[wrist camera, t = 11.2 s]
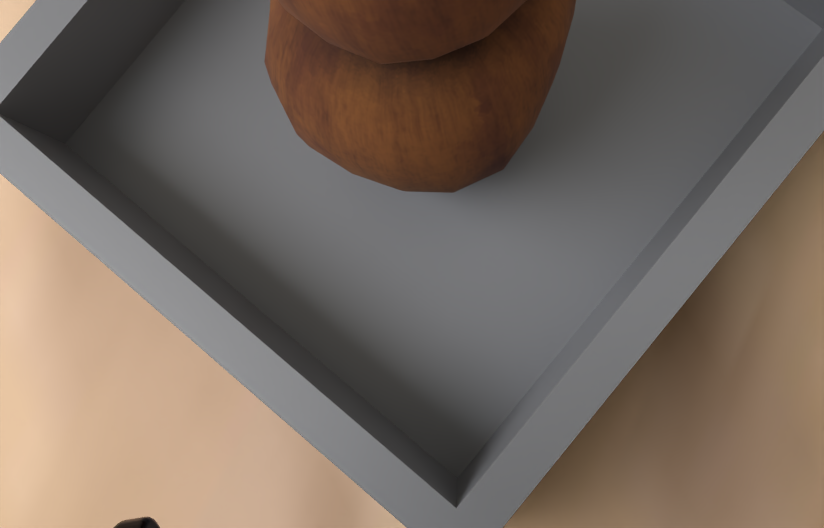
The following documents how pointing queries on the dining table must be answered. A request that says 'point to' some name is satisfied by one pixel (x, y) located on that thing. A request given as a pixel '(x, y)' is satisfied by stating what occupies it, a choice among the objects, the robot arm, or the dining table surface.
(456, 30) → the wooden figurine
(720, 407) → the dining table surface
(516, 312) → the box
